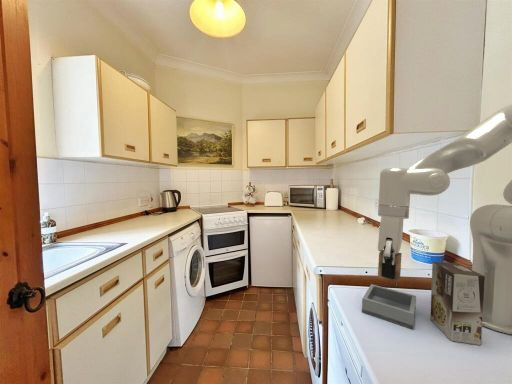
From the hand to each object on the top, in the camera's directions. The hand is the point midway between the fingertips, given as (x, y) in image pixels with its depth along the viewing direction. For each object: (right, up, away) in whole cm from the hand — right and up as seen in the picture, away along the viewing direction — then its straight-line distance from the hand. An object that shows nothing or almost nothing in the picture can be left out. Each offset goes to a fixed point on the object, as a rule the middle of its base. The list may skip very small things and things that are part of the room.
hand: (389, 273), depth 65 cm
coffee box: (+11, -12, -8) cm, 18 cm away
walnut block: (0, -1, 0) cm, 1 cm away
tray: (0, -11, 0) cm, 11 cm away
